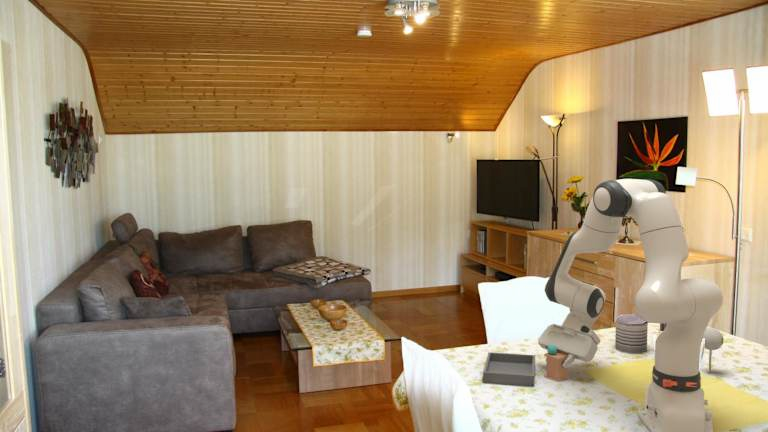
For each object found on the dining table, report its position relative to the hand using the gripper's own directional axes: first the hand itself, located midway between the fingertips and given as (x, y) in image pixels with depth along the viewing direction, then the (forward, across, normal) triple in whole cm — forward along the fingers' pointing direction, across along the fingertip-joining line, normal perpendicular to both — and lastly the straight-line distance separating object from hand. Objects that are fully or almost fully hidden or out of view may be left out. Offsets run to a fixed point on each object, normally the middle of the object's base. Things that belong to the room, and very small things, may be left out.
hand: (555, 364), depth 207 cm
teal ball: (-3, -2, -3) cm, 5 cm away
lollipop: (-27, +28, +34) cm, 52 cm away
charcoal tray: (+10, -12, -3) cm, 15 cm away
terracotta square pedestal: (+3, 0, +4) cm, 4 cm away
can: (-28, -1, +34) cm, 44 cm away
